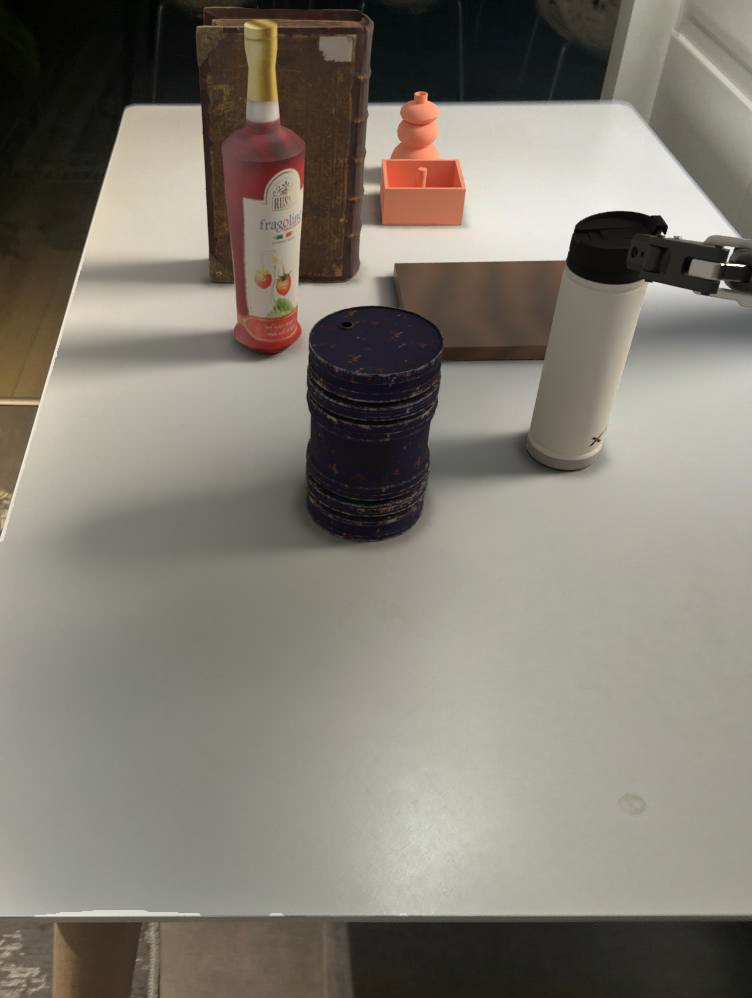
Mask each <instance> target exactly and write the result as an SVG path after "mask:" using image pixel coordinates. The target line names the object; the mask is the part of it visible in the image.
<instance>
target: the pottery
mask: <svg viewBox="0 0 752 998" xmlns="http://www.w3.org/2000/svg"><path fill="white" fill-rule="evenodd" d="M413 96H414V98H413V100H409V101H407V102H406V103H404V104H403V105H402V106H401V107H400V110H399V115H400V117H401V119H402V120H401V121H400V122H399V123H398V126H397V129H396V135H397V138H398V141H400V142H399V143H398V144H397V145H396V146H395V148H394V149H393V150H392V152H391V155H390V158H383V159H381V169H380V171H381V172H380V186H379V200H380V210H381V211H380V212H381V222H382V223H381V224H382V225H383V226H384V225H386V226H388V225H389V226H391V225H392V226H393V225H394V226H398V225H399V226H408V225H409V226H429V225H431V226H462V221H463V217H464V215H463V214H464V208H465V200H466V192H467V187H466V184H465V179H464V175H463V170H462V166H461V162H460V160H459V158H458V159H456V158H455V159H454V158H449V159H448V158H443V159H441V155H440V151H439V150H438V148H437V147H436V145H435V144H434V143H435V141H436V140H437V138H438V136H439V126H438V123H437V122H436V120H437V119H438V117H439V115H440V110H439V107H438V106H437V105H436V104H435V103H434V102H432V101H430V100H428V96H429V93H428V92H426V91H416V92H414V95H413Z"/></svg>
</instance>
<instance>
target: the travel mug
mask: <svg viewBox="0 0 752 998" xmlns="http://www.w3.org/2000/svg"><path fill="white" fill-rule="evenodd" d="M668 230H669V225H668V224H667V222H666V221H665V219H664V218H663V216H662V215H660V214H652V215H649V214H646V213H642V212H639V211H632V210H613V211H612V210H611V211H604V212H603V211H602V212H598V213H594V214H591V215H589V216H585V217H584V218H582V219H581V220H579V221H578V222H577V223H576V224H575V226H574V229H573V233H572V234H571V238H570V241H569V247H568V251H567V256H566V258H565V260H566V261H565V266H564V271H563V275H562V280H561V285H560V289H559V294H558V299H557V303H556V308H555V313H554V317H553V322H552V327H551V331H550V336H549V341H548V345H547V350H546V355H545V359H543V365H542V368H541V374H540V378H539V382H538V388H537V392H536V397H535V402H534V407H533V411H532V415H531V421H530V424H529V425H530V426H529V430H528V435H527V439H526V449H527V451H528V453H529V455H530V456H531V458H533V459H534V460H535V461H536V462H538V463H540V464H542V465H544V466H546V467H549V468H552V469H555V470H561V471H575V470H580V469H585V468H587V467H590V466H591V465H593V464H594V463H595V462H596V461H597V460H598V459H599V457H600V454H601V451H602V447H603V442H604V440H605V436H606V433H607V430H608V426H609V423H610V419H611V416H612V412H613V408H614V405H615V402H616V399H617V398H616V397H617V394H618V391H619V387H620V383H621V381H622V377H623V373H624V369H625V366H626V362H627V359H628V357H629V356H628V355H629V352H630V348H631V345H632V342H633V338H634V335H635V332H636V331H635V330H636V327H637V324H638V320H639V318H640V313H641V309H642V306H643V303H644V299H645V297H646V292H647V289H648V286H649V282H644V281H645V280H644V279H640V278H639V277H640V273H641V272H639V271H635V270H631V269H628V268H627V266H626V260H627V256H628V252H629V248H630V244H631V240H632V239H633V237H634V235H636V234H648V235H653V236H657V235H665V236H666V235H667V233H668Z"/></svg>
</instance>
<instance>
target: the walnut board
mask: <svg viewBox="0 0 752 998" xmlns="http://www.w3.org/2000/svg"><path fill="white" fill-rule="evenodd" d="M565 261H566V259H563V260H557V259H556V260H514V261H513V260H506V261H505V260H504V261H503V260H502V261H496V260H495V261H448V262H447V261H444V262H443V261H442V262H440V261H439V262H394V265H393V280H394V281H393V282H394V285H395V286H394V287H395V291H396V297H397V301H398V306H399V308H401V309H405V310H408V311H412V312H414V313H417V314H419V315H421V316H423V317H425V318H427V319H428V320H430V321H431V322H433V323H434V324H435V325H436V326H437V327H438V328H439V330H440V331H441V332H442V335H443V338H444V347H443V354H442V358H441V362H444V361H445V362H446V361H500V360H501V361H502V360H506V361H507V360H544V359H545V355H546V350H547V345H548V341H549V336H550V331H551V327H552V322H553V317H554V313H555V308H556V303H557V299H558V294H559V289H560V285H561V280H562V275H563V271H564V266H565Z"/></svg>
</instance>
